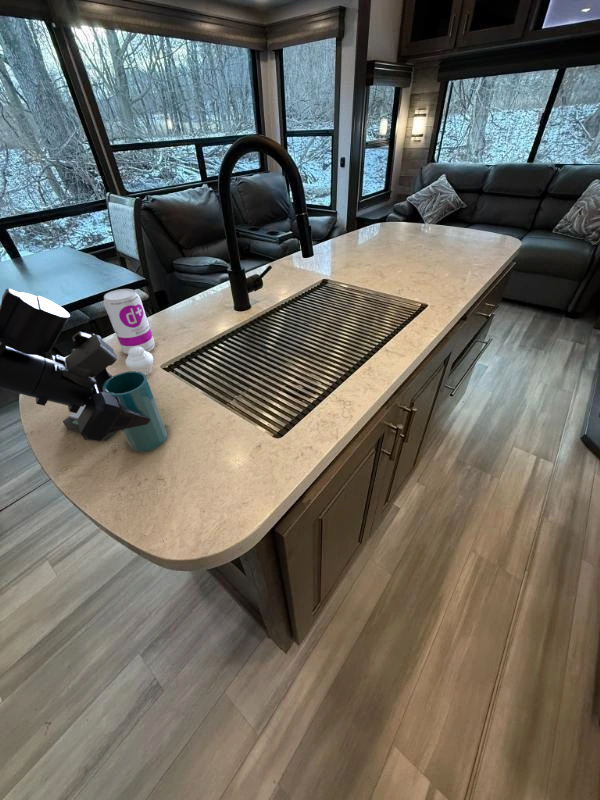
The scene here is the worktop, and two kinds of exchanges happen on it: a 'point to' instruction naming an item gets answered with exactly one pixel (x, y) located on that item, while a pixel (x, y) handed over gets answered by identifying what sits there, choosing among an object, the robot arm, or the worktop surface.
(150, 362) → the white frosted cupcake
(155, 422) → the cup
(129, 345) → the supplement can
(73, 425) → the scale
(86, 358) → the robot arm
